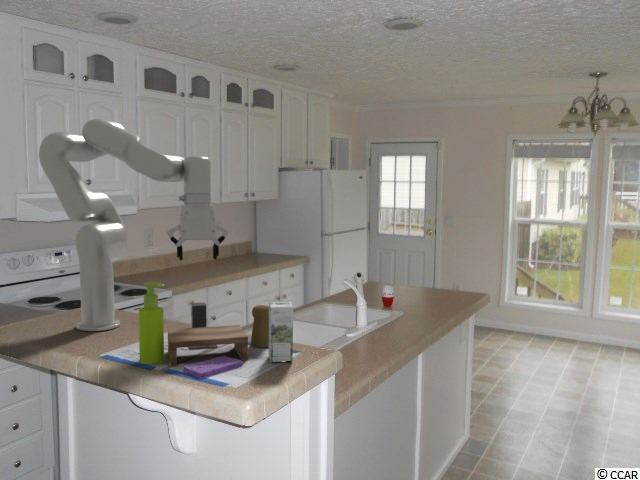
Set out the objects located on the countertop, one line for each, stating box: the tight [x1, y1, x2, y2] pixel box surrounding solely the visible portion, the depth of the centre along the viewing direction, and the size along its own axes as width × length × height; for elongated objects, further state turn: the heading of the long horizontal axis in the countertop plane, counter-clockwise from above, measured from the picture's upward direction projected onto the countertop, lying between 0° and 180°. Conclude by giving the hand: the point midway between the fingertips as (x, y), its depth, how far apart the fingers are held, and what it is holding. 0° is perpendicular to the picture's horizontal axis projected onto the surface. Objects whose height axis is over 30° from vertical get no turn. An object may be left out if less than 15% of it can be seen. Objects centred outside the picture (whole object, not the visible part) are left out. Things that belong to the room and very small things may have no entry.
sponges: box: [183, 355, 243, 379], centre depth 137 cm, size 7×13×2 cm, turn 139°
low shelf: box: [167, 324, 249, 367], centre depth 146 cm, size 12×19×6 cm, turn 108°
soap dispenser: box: [138, 281, 166, 365], centre depth 141 cm, size 6×7×20 cm
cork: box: [250, 304, 269, 348], centre depth 156 cm, size 6×6×11 cm
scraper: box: [189, 301, 218, 350], centre depth 161 cm, size 16×7×9 cm, turn 18°
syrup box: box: [268, 301, 294, 364], centre depth 144 cm, size 6×6×14 cm
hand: (198, 259), depth 164 cm, fingers open, 9 cm apart
